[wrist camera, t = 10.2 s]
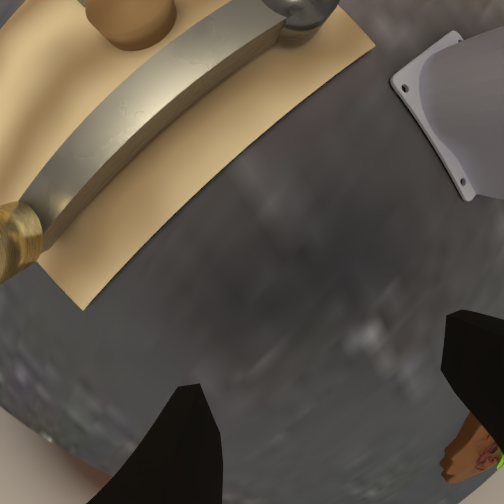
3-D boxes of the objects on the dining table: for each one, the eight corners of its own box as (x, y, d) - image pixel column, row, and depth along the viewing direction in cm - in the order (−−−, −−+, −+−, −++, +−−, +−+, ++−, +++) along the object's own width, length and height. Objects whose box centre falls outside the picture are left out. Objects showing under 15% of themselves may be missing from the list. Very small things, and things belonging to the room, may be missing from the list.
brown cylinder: (192, 16, 13) (186, -10, 10) (133, 65, 14) (115, 46, 11) (147, -20, 12) (136, -47, 9) (92, 26, 13) (71, 5, 10)
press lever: (288, -22, 12) (322, -103, 5) (334, 24, 13) (396, -43, 6) (16, 217, 14) (-71, 250, 7) (54, 265, 15) (-23, 321, 8)
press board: (368, 50, 15) (375, 45, 14) (88, 303, 18) (82, 310, 17) (177, -100, 11) (175, -107, 10) (-51, 120, 13) (-60, 119, 12)
